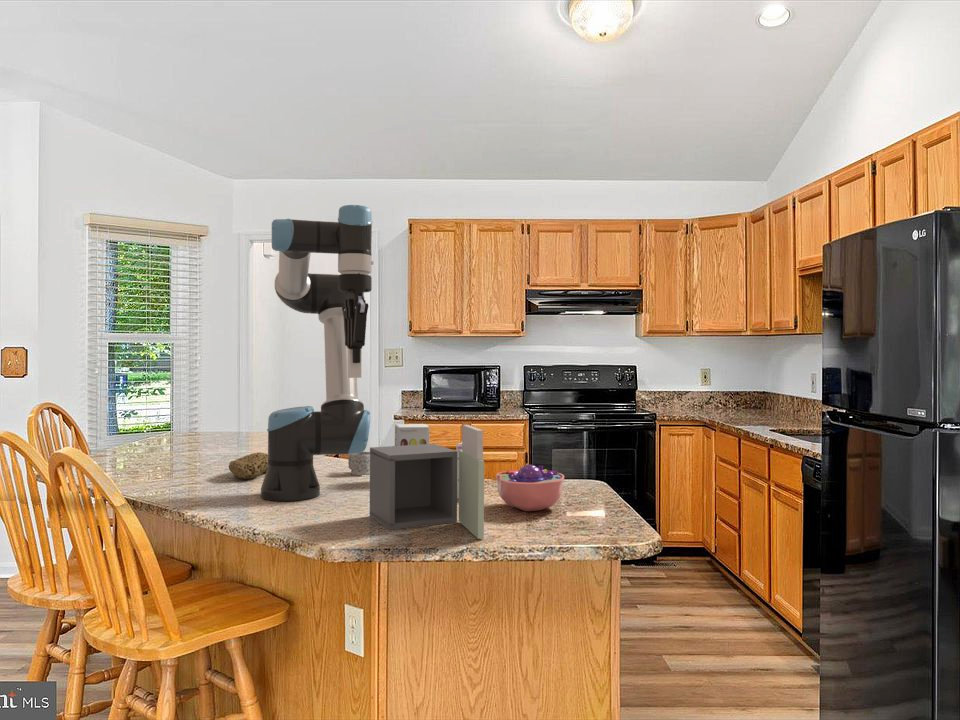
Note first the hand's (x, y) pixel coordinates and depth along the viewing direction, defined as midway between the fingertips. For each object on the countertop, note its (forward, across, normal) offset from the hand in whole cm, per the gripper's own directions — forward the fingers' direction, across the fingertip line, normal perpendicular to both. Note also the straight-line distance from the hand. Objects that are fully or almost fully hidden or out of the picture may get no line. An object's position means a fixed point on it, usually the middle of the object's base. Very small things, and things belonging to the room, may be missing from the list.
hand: (354, 377), depth 160 cm
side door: (+32, -21, -19) cm, 43 cm away
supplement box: (+33, +37, -28) cm, 57 cm away
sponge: (+33, +67, +13) cm, 75 cm away
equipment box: (+32, -6, -12) cm, 35 cm away
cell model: (+33, -8, -42) cm, 54 cm away
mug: (+33, +57, -18) cm, 68 cm away
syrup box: (+33, +10, -34) cm, 48 cm away
